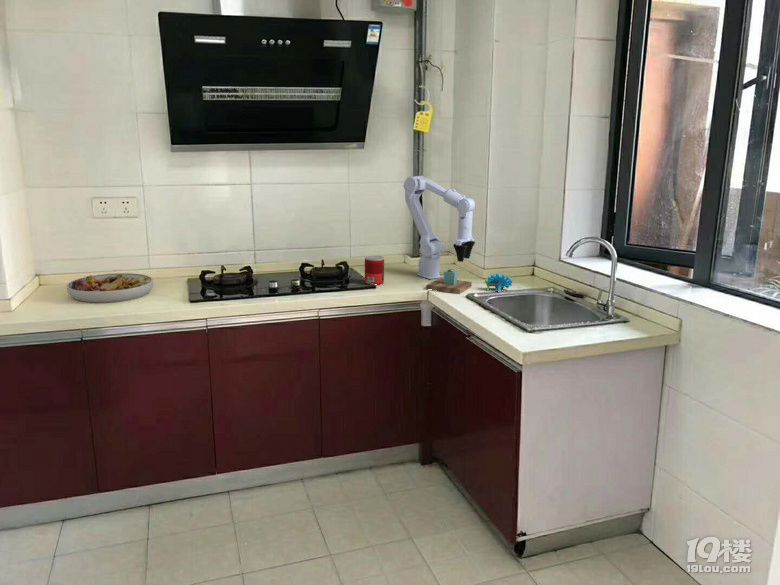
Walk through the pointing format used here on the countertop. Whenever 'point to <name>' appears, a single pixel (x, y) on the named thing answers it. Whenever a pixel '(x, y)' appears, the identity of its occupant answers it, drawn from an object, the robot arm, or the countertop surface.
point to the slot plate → (449, 286)
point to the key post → (450, 277)
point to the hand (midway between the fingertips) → (463, 259)
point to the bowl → (110, 287)
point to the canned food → (374, 269)
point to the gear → (498, 281)
